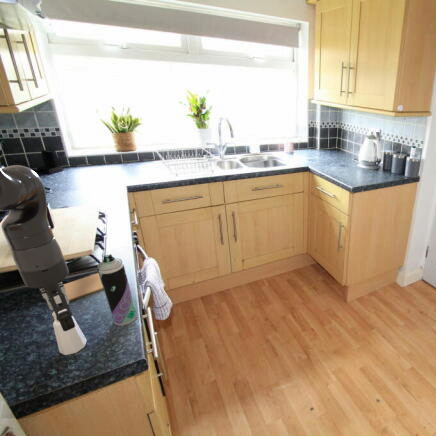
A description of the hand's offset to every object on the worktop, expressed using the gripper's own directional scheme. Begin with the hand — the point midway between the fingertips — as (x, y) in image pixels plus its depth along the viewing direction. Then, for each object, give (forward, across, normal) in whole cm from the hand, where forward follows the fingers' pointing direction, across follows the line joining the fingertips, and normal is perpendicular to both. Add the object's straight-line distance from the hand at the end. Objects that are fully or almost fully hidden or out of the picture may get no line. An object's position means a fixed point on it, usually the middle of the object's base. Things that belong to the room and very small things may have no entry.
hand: (65, 319), depth 74 cm
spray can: (+9, -2, +12) cm, 14 cm away
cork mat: (+8, -26, +7) cm, 28 cm away
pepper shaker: (+8, 0, 0) cm, 8 cm away
